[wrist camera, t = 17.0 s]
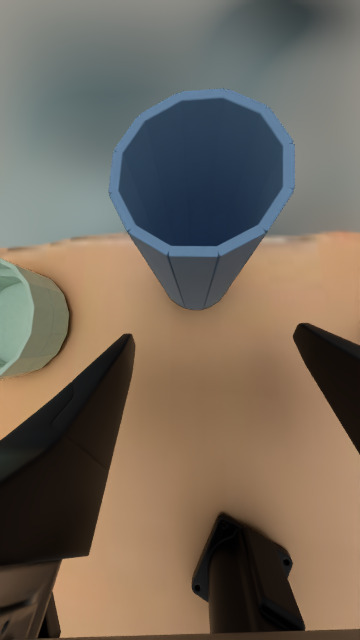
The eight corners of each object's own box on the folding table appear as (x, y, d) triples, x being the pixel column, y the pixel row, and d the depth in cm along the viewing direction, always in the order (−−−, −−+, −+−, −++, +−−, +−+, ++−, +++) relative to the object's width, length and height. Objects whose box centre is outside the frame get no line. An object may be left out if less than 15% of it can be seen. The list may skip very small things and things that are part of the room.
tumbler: (181, 321, 17) (155, 290, 6) (154, 266, 18) (83, 144, 6) (240, 291, 17) (334, 197, 5) (209, 238, 18) (236, 58, 6)
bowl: (43, 391, 18) (-9, 410, 13) (-36, 346, 19) (-106, 349, 15) (89, 297, 18) (55, 284, 14) (10, 260, 20) (-44, 237, 15)
